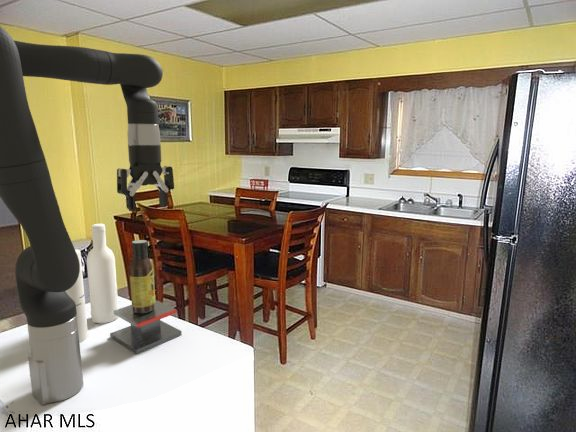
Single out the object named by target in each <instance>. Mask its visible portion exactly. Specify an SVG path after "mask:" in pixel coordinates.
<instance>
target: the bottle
mask: <svg viewBox="0 0 576 432" xmlns="http://www.w3.org/2000/svg"><path fill="white" fill-rule="evenodd" d="M90 230H91V236H92V247H93V248H91V250H90V251H88V253H87V256H86V266H87V267H86V268H87V269H86V270H87V280H88V291H89V304H90V315H91V321H92V322H93V323H95V324H108V323H111V322H114V321H116V320H117V319H119V317H118V316H116V315H115V314H114V310H117V309H120V308H119V298H118V297H119V296H118V286H117V285H118V283H117V271H116V269H117V268H116V257H115V255H114V252H113V250H112V249H110V248H109V247H108V246H107V237H106V236H107V235H106V234H107V233H106V230H107V229H106V225H105V224H104V223H95V224H92V225H91V229H90Z"/></svg>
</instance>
